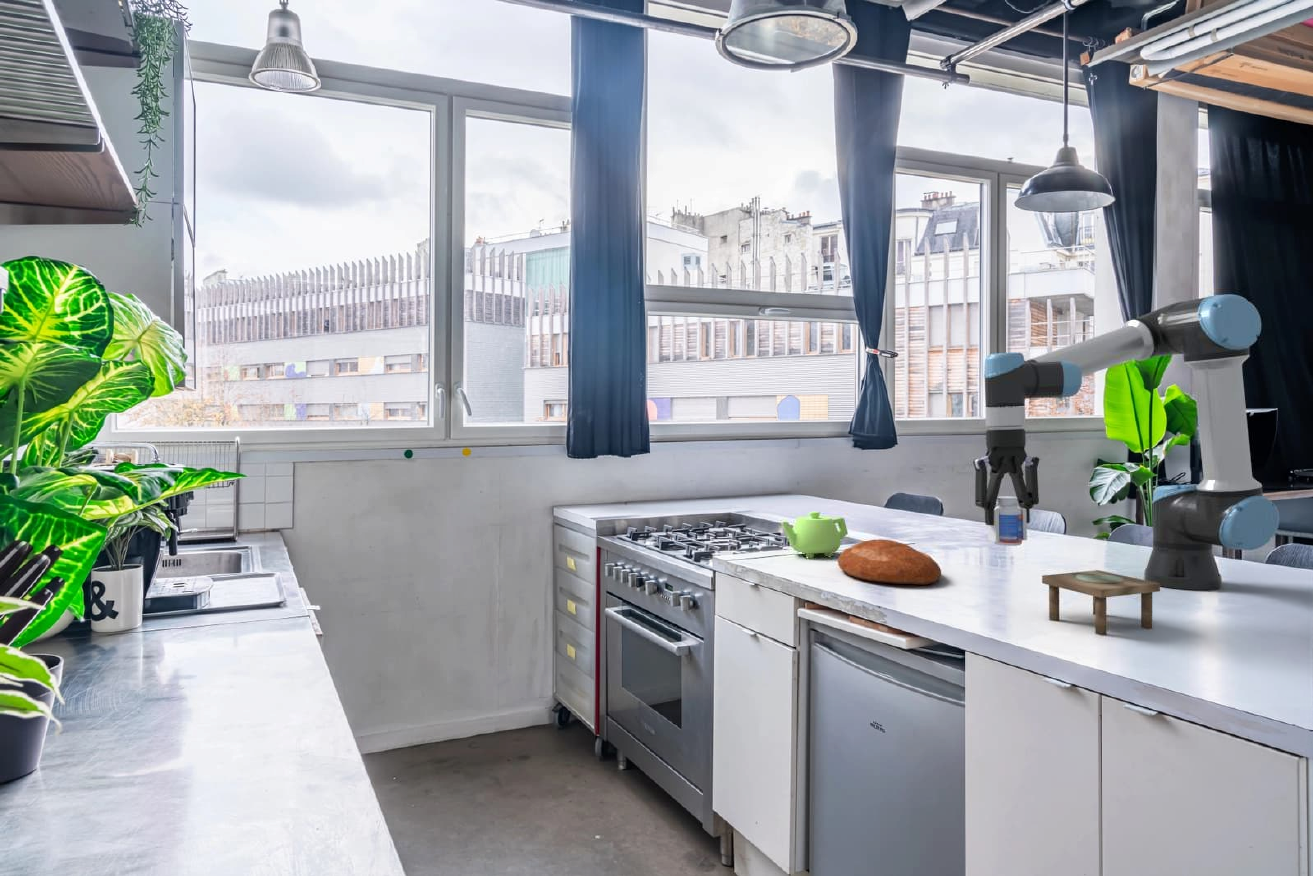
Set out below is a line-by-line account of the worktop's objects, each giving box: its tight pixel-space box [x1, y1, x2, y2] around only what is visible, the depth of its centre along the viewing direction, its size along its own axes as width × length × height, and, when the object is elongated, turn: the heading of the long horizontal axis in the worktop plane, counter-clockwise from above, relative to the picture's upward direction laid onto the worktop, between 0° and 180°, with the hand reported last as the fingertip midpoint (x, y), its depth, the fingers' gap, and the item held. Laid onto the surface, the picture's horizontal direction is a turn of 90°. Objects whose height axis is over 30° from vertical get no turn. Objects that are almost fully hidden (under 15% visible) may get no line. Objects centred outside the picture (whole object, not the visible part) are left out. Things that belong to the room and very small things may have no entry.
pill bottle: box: [993, 495, 1023, 547], centre depth 169 cm, size 6×5×10 cm
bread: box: [837, 538, 942, 586], centre depth 206 cm, size 23×32×9 cm
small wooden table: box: [1041, 569, 1161, 636], centre depth 156 cm, size 14×14×9 cm
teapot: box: [781, 511, 849, 559], centre depth 236 cm, size 20×13×13 cm
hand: (1007, 539), depth 170 cm, fingers closed on pill bottle, 5 cm apart
